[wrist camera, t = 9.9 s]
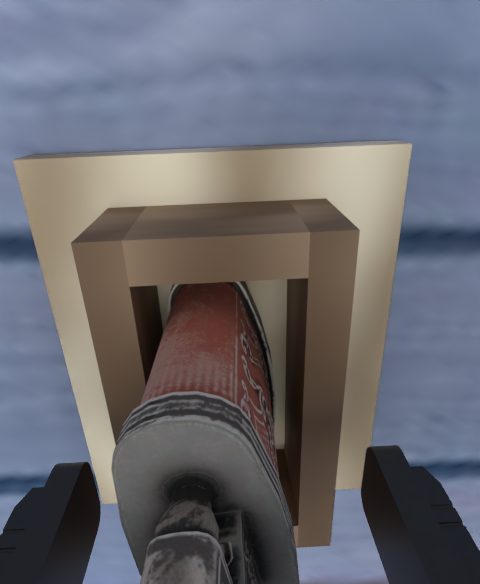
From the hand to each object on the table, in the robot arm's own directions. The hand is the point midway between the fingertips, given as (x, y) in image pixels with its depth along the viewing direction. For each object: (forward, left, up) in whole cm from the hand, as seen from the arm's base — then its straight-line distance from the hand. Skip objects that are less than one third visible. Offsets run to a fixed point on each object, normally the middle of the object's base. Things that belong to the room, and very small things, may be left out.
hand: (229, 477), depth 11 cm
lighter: (0, 0, -5) cm, 5 cm away
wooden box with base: (0, 0, -7) cm, 7 cm away
